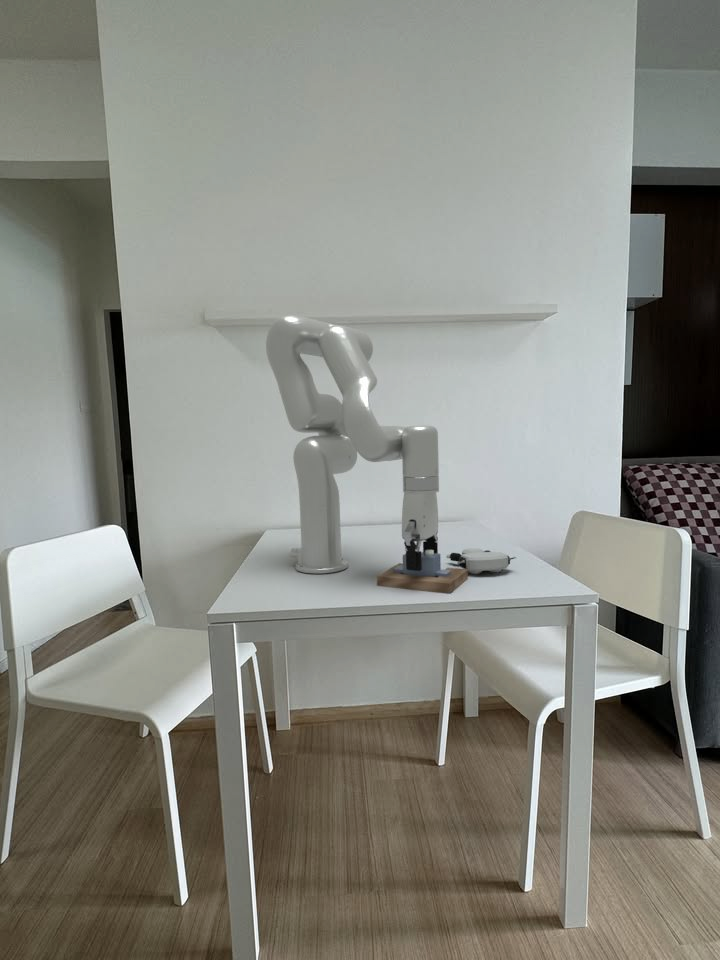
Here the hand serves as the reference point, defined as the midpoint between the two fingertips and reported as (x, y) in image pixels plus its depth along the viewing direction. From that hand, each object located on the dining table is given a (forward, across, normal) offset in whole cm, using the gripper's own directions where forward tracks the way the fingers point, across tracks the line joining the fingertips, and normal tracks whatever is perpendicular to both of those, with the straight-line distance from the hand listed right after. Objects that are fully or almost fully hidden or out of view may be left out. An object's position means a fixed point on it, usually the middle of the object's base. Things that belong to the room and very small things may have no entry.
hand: (422, 564), depth 117 cm
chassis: (+4, 0, 0) cm, 4 cm away
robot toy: (+4, -15, +8) cm, 17 cm away
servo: (+4, 0, 0) cm, 4 cm away
